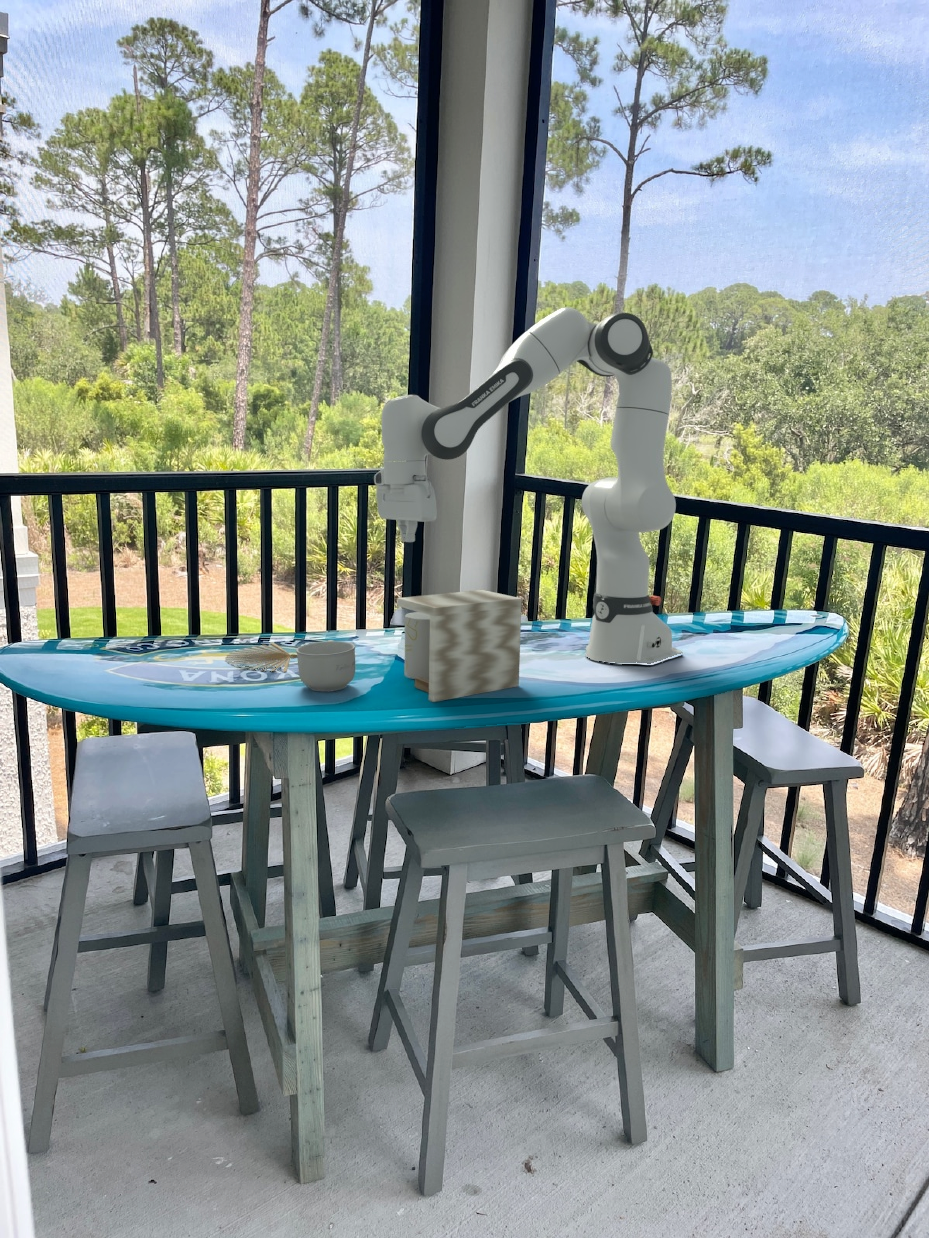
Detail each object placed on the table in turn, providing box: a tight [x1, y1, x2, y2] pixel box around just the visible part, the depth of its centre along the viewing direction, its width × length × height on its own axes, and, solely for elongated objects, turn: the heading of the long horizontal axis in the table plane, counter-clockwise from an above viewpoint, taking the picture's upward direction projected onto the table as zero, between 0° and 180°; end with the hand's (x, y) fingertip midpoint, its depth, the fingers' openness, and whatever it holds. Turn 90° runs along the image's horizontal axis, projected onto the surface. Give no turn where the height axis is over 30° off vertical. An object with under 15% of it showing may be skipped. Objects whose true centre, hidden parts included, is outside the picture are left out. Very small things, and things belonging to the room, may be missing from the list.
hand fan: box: [225, 642, 297, 673], centre depth 189 cm, size 26×1×15 cm
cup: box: [404, 611, 430, 680], centre depth 177 cm, size 8×8×12 cm
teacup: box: [295, 639, 356, 693], centre depth 168 cm, size 14×11×8 cm
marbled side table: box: [396, 589, 523, 703], centre depth 168 cm, size 20×12×17 cm, turn 127°
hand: (408, 541), depth 189 cm, fingers closed
